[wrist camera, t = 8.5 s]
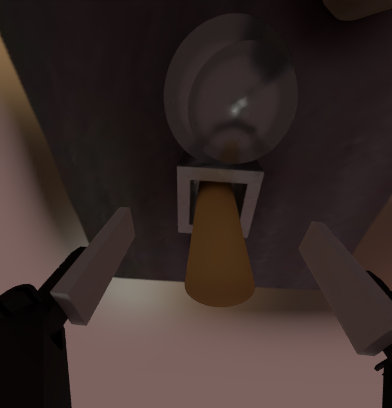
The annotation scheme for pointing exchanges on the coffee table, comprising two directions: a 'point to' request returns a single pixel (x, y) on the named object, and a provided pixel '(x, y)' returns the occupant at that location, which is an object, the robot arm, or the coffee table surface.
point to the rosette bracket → (228, 108)
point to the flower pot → (356, 8)
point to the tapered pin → (218, 250)
